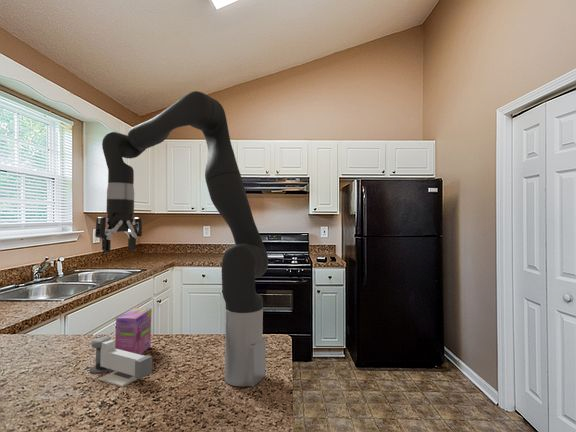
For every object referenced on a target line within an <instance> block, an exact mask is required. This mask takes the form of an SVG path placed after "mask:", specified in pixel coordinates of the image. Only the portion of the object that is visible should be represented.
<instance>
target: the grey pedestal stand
mask: <svg viewBox="0 0 576 432" xmlns="http://www.w3.org/2000/svg"><path fill="white" fill-rule="evenodd" d="M100 358H101V348H95V365H93V366H91V367H90V368H89V372H91V373H90V374H103V373H106V372H108V371H110V370H111V369H108V368H105V367H101V366H100Z"/></svg>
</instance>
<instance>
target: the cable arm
mask: <svg viewBox="0 0 576 432" xmlns="http://www.w3.org/2000/svg"><path fill="white" fill-rule="evenodd" d="M91 348H94V349H96V348H101V358H100V366H101V367H105V368H108V369H110V370H112V371H119V372H122V373H125V374H129V375H132V376H135V378H137V380H141V379H143V378H145V377H147V376H149V375H151V374H152V373H153V356H152V355H147V354H146V355H144V354H141V355H140V354H136V353H131V352H127V351H123V350H119V349H115V339H112V337H108V336H102V337H97V338H95V339H94V338H93V340H91Z"/></svg>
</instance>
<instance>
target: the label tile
mask: <svg viewBox="0 0 576 432" xmlns="http://www.w3.org/2000/svg"><path fill="white" fill-rule="evenodd" d="M98 380H99V381H102V382H105V383H108V384H112V385H114V386H119V387H121V388H123V387H125V386H127V385H129V384H131V383H133V382H135V381H136V380H138V379H137V378H135V376H132V375H129V374H125V373H122V372H119V371H115V370H113V371H112V372H108V374H105V375H103V376H101V377H99V378H98Z"/></svg>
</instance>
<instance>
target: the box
mask: <svg viewBox="0 0 576 432" xmlns="http://www.w3.org/2000/svg"><path fill="white" fill-rule="evenodd" d="M115 319H116V320H115V339H114V341H115V349H119V350H123V351H127V352H131V353H136V354H140V355H143V353H145V352H146V351H147V350H148V349H150V347H151V346H152V345H151V341H152V339H151V338H152V335H151V334H152V308H147V307H143V308H142V307H141V308H140V307H139V308H138V307H134V308H132V309H130V310H129V311H127V312H125V313H123V314H121V315H120V316H118V317H116V318H115ZM144 351H145V352H144Z"/></svg>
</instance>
